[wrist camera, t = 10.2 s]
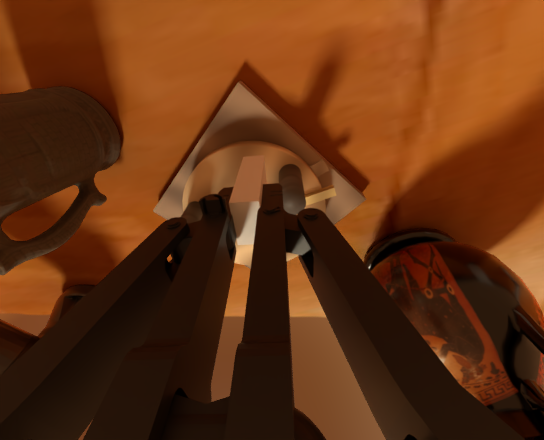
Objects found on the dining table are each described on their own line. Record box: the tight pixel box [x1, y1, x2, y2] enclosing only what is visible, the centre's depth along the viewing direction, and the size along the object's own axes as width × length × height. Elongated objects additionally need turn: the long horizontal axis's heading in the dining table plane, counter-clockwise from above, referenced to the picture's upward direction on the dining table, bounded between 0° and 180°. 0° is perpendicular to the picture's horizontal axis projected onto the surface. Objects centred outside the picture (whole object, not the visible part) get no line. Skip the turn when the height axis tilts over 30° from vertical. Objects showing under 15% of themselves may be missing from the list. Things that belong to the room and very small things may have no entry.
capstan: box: [181, 141, 336, 266], centre depth 31 cm, size 20×20×9 cm
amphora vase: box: [364, 228, 544, 440], centre depth 33 cm, size 22×22×28 cm
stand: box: [153, 80, 366, 269], centre depth 37 cm, size 23×23×2 cm
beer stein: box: [0, 86, 121, 275], centre depth 25 cm, size 15×11×20 cm
